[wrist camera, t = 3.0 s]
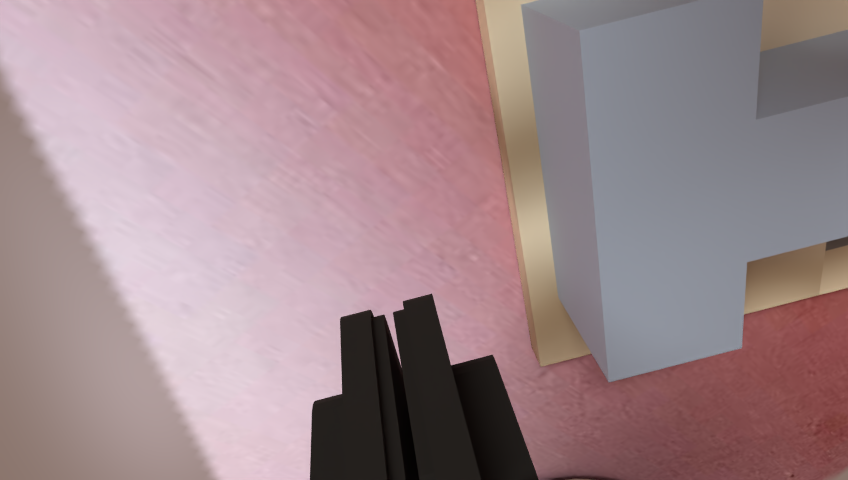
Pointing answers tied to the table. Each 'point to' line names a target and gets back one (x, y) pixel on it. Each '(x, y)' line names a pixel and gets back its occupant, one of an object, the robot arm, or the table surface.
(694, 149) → the t block
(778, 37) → the board
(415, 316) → the robot arm
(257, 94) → the table surface
